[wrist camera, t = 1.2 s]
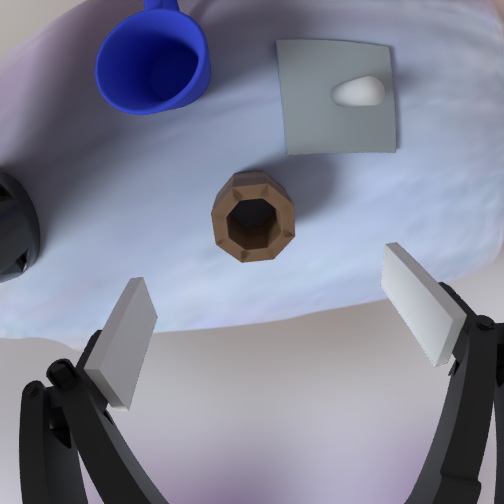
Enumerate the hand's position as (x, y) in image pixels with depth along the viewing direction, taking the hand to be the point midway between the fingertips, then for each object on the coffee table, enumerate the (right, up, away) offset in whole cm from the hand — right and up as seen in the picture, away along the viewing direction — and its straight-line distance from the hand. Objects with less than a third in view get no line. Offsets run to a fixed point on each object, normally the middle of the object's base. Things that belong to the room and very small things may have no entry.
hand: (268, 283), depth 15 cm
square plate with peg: (+8, +17, +10) cm, 22 cm away
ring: (-1, +7, +15) cm, 17 cm away
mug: (-8, +21, +8) cm, 24 cm away
